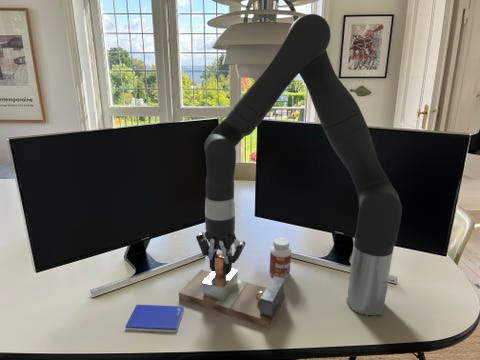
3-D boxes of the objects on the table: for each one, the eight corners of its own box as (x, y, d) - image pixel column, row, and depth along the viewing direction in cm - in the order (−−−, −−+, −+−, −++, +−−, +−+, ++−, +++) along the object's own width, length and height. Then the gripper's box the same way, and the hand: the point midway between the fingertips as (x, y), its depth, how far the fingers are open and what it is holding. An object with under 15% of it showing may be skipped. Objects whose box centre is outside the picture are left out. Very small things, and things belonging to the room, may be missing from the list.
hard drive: (183, 305, 88) (136, 303, 89) (176, 328, 80) (125, 326, 81) (184, 310, 88) (137, 308, 89) (176, 333, 81) (125, 331, 81)
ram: (237, 282, 96) (237, 250, 92) (223, 301, 88) (222, 267, 85) (218, 276, 98) (218, 246, 95) (202, 294, 90) (202, 262, 87)
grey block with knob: (283, 295, 91) (284, 279, 89) (271, 318, 82) (272, 301, 81) (262, 289, 93) (263, 273, 92) (248, 311, 85) (249, 294, 83)
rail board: (284, 299, 92) (285, 292, 92) (269, 328, 82) (270, 321, 81) (201, 275, 102) (201, 269, 102) (179, 298, 92) (178, 292, 91)
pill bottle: (273, 281, 100) (275, 247, 97) (266, 269, 106) (267, 237, 102) (293, 277, 102) (295, 244, 98) (284, 266, 108) (286, 235, 104)
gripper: (251, 212, 86) (250, 271, 92) (203, 203, 92) (204, 258, 97) (239, 224, 80) (238, 286, 85) (188, 213, 85) (190, 272, 91)
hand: (220, 271), depth 91 cm, fingers closed on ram, 3 cm apart
